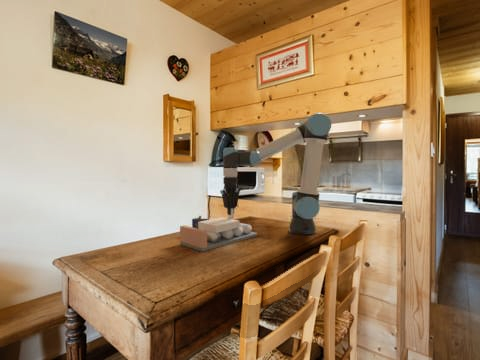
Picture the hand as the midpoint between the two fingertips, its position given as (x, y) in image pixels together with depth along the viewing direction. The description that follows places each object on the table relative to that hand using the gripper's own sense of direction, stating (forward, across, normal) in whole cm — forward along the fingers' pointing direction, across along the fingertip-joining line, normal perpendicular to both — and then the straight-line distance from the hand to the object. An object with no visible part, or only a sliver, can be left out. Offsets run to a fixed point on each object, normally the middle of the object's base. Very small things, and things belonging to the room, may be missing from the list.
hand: (230, 220), depth 145 cm
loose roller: (+8, +16, 0) cm, 17 cm away
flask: (+9, +7, -18) cm, 21 cm away
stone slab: (+3, +9, 0) cm, 9 cm away
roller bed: (+9, +6, 0) cm, 11 cm away
